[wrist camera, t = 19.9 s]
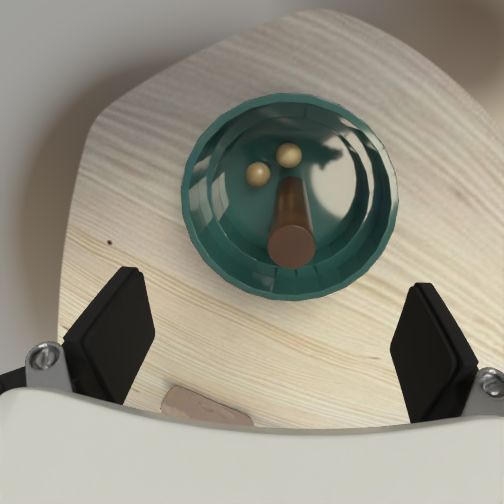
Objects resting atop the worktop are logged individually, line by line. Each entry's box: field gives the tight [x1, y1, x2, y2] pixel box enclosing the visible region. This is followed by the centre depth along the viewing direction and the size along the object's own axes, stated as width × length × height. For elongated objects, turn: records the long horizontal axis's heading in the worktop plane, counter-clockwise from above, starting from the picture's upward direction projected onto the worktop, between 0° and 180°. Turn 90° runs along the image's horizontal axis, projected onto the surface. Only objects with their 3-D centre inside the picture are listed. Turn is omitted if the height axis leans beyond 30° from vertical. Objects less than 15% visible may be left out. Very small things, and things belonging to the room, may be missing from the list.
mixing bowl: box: [181, 93, 399, 301], centre depth 23 cm, size 15×15×6 cm
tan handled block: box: [160, 386, 254, 427], centre depth 39 cm, size 8×4×30 cm
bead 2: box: [276, 143, 302, 168], centre depth 23 cm, size 2×2×2 cm
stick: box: [267, 176, 316, 269], centre depth 20 cm, size 2×2×11 cm
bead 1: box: [245, 162, 271, 187], centre depth 24 cm, size 2×2×2 cm
